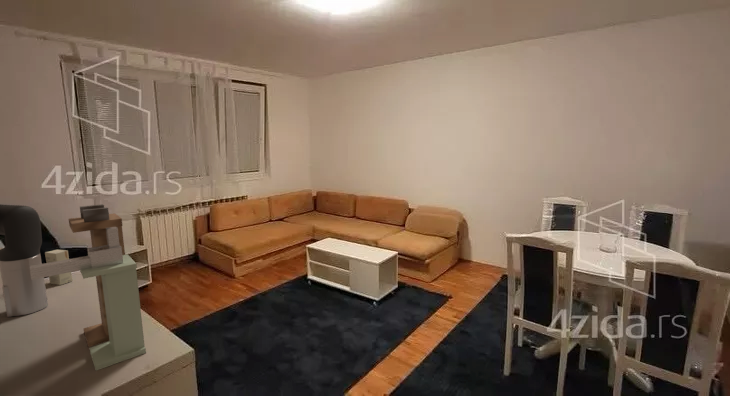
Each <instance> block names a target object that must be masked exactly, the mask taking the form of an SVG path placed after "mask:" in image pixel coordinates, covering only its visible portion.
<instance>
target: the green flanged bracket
mask: <svg viewBox="0 0 730 396" xmlns="http://www.w3.org/2000/svg"><path fill="white" fill-rule="evenodd" d="M137 267H138V265H137V263H136V262H135V260H134V259H132V257H131V255H129V254H125V255H123V263H121V264H116V265H111V266H106V267H100V268H95V269H91V268H89V269H84V270H79V271H80V274H81V276H82V279H83V280H84V279H88V278H89V279H90V278H93V277H96V276H99V275H101V276H102V284H103V292H104V300H105V308H106V316H107V324H108V332H109V341H107V342H104V343H101V344H98V345H94V346H91V347H89V353H90V356H91V360H92V362H93V366H94V367H93V368H94V369H95V371H99V370H101V369H104V368H107V367H110V366H114V365H115V364H118V363H119V364H120V362H121V363H122V362H124V361H127V360H129V359H132V358H135V357H138V356H141V355H143V354H144V355H145V353H146V354H147V350H146V346H145V339H144V338H145V337H144V336H145V335H144V328H143V318H142V310H141V309H142V308H141V301H140V300H141V299H140V293H139V292H140V291H139V283H138V282H139V281H138V274H137Z"/></svg>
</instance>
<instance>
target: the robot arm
mask: <svg viewBox="0 0 730 396" xmlns="http://www.w3.org/2000/svg"><path fill="white" fill-rule="evenodd" d="M0 235H1V236H4V239H5V246H4V247H2V248H0V276H1V283H2V287H1V288H2V294H3V299H4V300H3V301H4V305H5V306H4V307H5V311H6V317H7V318H10V317H17V316H24V315H30V314H33V313H36V312H39V311H41V310H43V309H45V308H47V307H48V305H49V302H48V296H47V295H48V294H47V289H46V282H45V277H43V278H38V279H33V280H31V274H30V266H33V265H39V264H43V263H42V256H41V246H42V244H43V238H42V237H43V236H42V235H43V234H42V223H41V219H40V215H39V213H38V212H37V210H35V208H33V207H31V206H27V205H20V204H16V205H15V204H0Z"/></svg>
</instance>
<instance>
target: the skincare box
mask: <svg viewBox="0 0 730 396" xmlns="http://www.w3.org/2000/svg"><path fill="white" fill-rule="evenodd" d="M44 255H45V261H46V263H50V262H56V261H61V260H67V259H70V258H69V257H70V256H69V250H68V249H67V250H66V249H53V250H50V251H45V252H44ZM48 279H49V284H52V285H57V286H62V285H65V284H67V283H71V282H73V273H72V272H69V273H64V274H59V275H53V276H48Z"/></svg>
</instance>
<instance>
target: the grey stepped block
mask: <svg viewBox="0 0 730 396" xmlns="http://www.w3.org/2000/svg"><path fill="white" fill-rule="evenodd" d="M106 235H107V243H108V245H104V246H98V247H92V246H91V247H87V248H86V249H87V250H86V251H87V255H86V256H85V255H84V256H79V257H73V258H69V259H67V260H61V261H56V262H50V263H47V262H46V263H45V262H43V263H42V264H39V265H33V266H30V274H31V280H33V279H38V278H43V277H44V278H49V276H53V275H59V274H64V273H69V272H71V273H73V272H79V271H80V270H84V269H89V268H91V269H95V268H100V267H106V266H111V265H116V264H121V263H123V255H122V247H121V246H120V244H119V236H118V228H117V227H109V228H106Z"/></svg>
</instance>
